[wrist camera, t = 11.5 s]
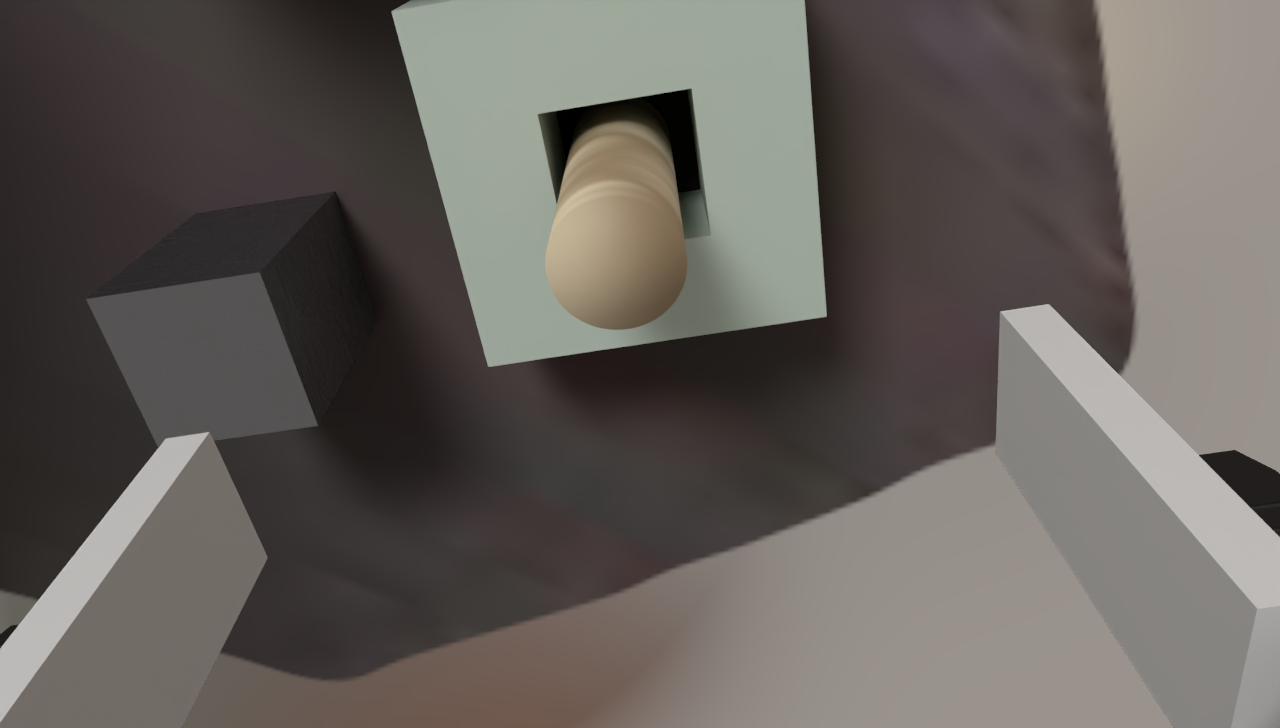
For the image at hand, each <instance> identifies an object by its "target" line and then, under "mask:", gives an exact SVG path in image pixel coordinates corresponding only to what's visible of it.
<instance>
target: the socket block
mask: <svg viewBox="0 0 1280 728" xmlns="http://www.w3.org/2000/svg"><path fill="white" fill-rule="evenodd" d="M391 12H392V16H393V20H394V23H395V27H396V31H397V34H398V38H399V42H400V45H401V49H402V53H403V56H404V60H405V64H406V67H407V71H408V75H409V78H410V82H411V86H412V89H413V93H414V97H415V100H416V104H417V108H418V111H419V115H420V119H421V122H422V126H423V130H424V133H425V137H426V141H427V144H428V148H429V152H430V155H431V159H432V163H433V166H434V170H435V174H436V177H437V181H438V185H439V188H440V192H441V196H442V199H443V203H444V207H445V210H446V214H447V218H448V221H449V225H450V229H451V232H452V236H453V240H454V243H455V247H456V251H457V254H458V258H459V262H460V265H461V269H462V272H463V276H464V280H465V283H466V287H467V291H468V294H469V298H470V302H471V305H472V309H473V313H474V316H475V320H476V324H477V327H478V331H479V335H480V338H481V342H482V346H483V349H484V353H485V357H486V360H487V364H488V367H491V366H498V365H504V364H511V363H518V362H525V361H531V360H538V359H545V358H552V357H558V356H565V355H572V354H579V353H585V352H592V351H599V350H606V349H612V348H619V347H626V346H633V345H639V344H646V343H653V342H660V341H666V340H673V339H680V338H686V337H693V336H700V335H707V334H713V333H720V332H727V331H734V330H740V329H747V328H754V327H761V326H767V325H774V324H781V323H788V322H794V321H801V320H808V319H815V318H821V317H827V311H826V297H825V283H824V269H823V255H822V240H821V226H820V212H819V198H818V184H817V169H816V155H815V141H814V127H813V113H812V98H811V84H810V70H809V56H808V42H807V27H806V13H805V0H410V1H409V2H407V3H405V4H403V5H402V6H400V7H398V8H396V9H395V10H393V11H391ZM685 89H687V92H688V100H689V107H690V115H691V122H692V130H693V137H694V145H695V152H696V160H697V167H698V175H699V182H700V190H694V191H687V192H681V193H678V197H679V204H680V211H681V218H682V225H683V232H684V239H685V246H686V253H687V274H686V280H685V283H684V286H683V288H682V290H681V292H680V294H679V296H678V298H677V299H676V301H675V302H674V303H673V305H672V306H671V307H670V308H669V309H668V310H667V311H666V312H665V313H664V314H662V315H661V316H660V317H658V318H657V319H655V320H653V321H651V322H649V323H647V324H645V325H642V326H639V327H636V328H631V329H624V330H609V329H602V328H598V327H594V326H592V325H589V324H586V323H584V322H582V321H580V320H579V319H577V318H576V317H574V316H573V315H571V314H570V313H569V312H568V311H567V310H565V309H564V308H563V306H562V305H561V304H560V303H559V302H558V300H557V299H556V297H555V296H554V294H553V292H552V290H551V288H550V286H549V283H548V280H547V276H546V270H545V257H546V250H547V246H548V241H549V237H550V233H551V228H552V224H553V220H554V215H555V211H556V207H557V202H558V198H559V194H560V189H561V185H562V181H563V176H564V172H565V168H566V158H565V153H564V148H563V143H562V138H561V133H560V129H559V124H558V119H557V114H556V111H559V110H565V109H571V108H577V107H583V106H589V105H595V104H601V103H607V102H613V101H619V100H625V99H631V98H637V97H643V96H649V95H655V94H661V93H667V92H673V91H679V90H685Z"/></svg>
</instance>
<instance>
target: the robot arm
mask: <svg viewBox="0 0 1280 728" xmlns="http://www.w3.org/2000/svg"><path fill="white" fill-rule="evenodd" d="M996 455H997V456H998V458H999V459H1000V461H1001V462H1002V464H1003V465H1004V467H1005V468H1006V470H1007V471H1008V473H1009V474H1010V476H1011V478H1012V479H1013V481H1014V482H1015V484H1016V485H1017V487H1018V489H1019V490H1020V492H1021V493H1022V495H1023V496H1024V498H1025V499H1026V501H1027V502H1028V504H1029V506H1030V507H1031V508H1032V510H1033V512H1034V513H1035V515H1036V516H1037V518H1038V519H1039V521H1040V522H1041V524H1042V525H1043V527H1044V528H1045V530H1046V532H1047V533H1048V535H1049V536H1050V538H1051V539H1052V541H1053V543H1054V544H1055V546H1056V547H1057V549H1058V550H1059V552H1060V553H1061V555H1062V556H1063V558H1064V559H1065V561H1066V563H1067V564H1068V566H1069V567H1070V569H1071V570H1072V572H1073V573H1074V575H1075V576H1076V578H1077V580H1078V581H1079V583H1080V584H1081V586H1082V587H1083V589H1084V590H1085V592H1086V593H1087V595H1088V596H1089V598H1090V599H1091V601H1092V603H1093V604H1094V606H1095V607H1096V609H1097V610H1098V612H1099V613H1100V615H1101V617H1102V618H1103V620H1104V621H1105V623H1106V624H1107V626H1108V627H1109V629H1110V630H1111V632H1112V634H1113V635H1114V637H1115V638H1116V640H1117V641H1118V643H1119V644H1120V646H1121V647H1122V649H1123V651H1124V652H1125V654H1126V655H1127V657H1128V658H1129V660H1130V661H1131V662H1132V664H1133V666H1134V667H1135V669H1136V671H1137V672H1138V674H1139V675H1140V677H1141V678H1142V680H1143V681H1144V683H1145V685H1146V686H1147V688H1148V689H1149V691H1150V692H1151V694H1152V695H1153V697H1154V698H1155V700H1156V701H1157V703H1158V705H1159V706H1160V707H1161V709H1162V711H1163V712H1164V714H1165V715H1166V717H1167V718H1168V720H1169V722H1170V723H1171V725H1172V726H1173V728H1280V474H1279V473H1278V472H1277V471H1275V470H1273V469H1272V468H1270V467H1267V466H1266V465H1263V464H1261V463H1259V462H1258V461H1256V460H1254V459H1251V458H1250V457H1247V456H1246V455H1244V454H1242V453H1240V452H1238V451H1235V450H1232V451H1226V452H1218V453H1211V454H1204V455H1198V454H1197V453H1196V452H1195V451H1194V450H1193V449H1192V448H1191V447H1190V446H1189V445H1188V444H1187V443H1186V442H1185V441H1184V440H1183V439H1182V438H1181V437H1180V436H1179V435H1178V434H1177V433H1176V432H1175V431H1174V430H1173V429H1172V428H1171V427H1170V426H1169V425H1168V424H1167V423H1166V422H1165V421H1164V420H1163V419H1162V418H1161V417H1160V416H1159V415H1158V414H1157V413H1156V412H1155V411H1154V410H1153V409H1152V408H1151V407H1150V406H1149V405H1148V404H1147V403H1146V402H1145V401H1144V400H1143V399H1142V398H1141V397H1140V396H1139V395H1138V394H1137V393H1136V392H1135V391H1134V390H1133V389H1132V388H1131V387H1130V386H1129V385H1128V384H1127V383H1126V382H1125V381H1124V380H1123V379H1122V378H1121V377H1120V376H1119V375H1118V374H1117V373H1116V372H1115V371H1114V369H1113V368H1112V367H1111V366H1110V365H1109V364H1108V363H1107V362H1106V361H1105V360H1104V359H1103V358H1102V357H1101V356H1100V355H1099V354H1098V353H1097V352H1096V351H1095V350H1094V349H1093V348H1092V347H1091V346H1090V345H1089V344H1088V343H1087V342H1086V341H1085V340H1084V339H1083V338H1082V337H1081V336H1080V335H1079V334H1078V333H1077V332H1076V331H1075V330H1074V329H1073V328H1072V327H1071V326H1070V325H1069V324H1068V323H1067V322H1066V321H1065V320H1064V319H1063V318H1062V317H1061V316H1060V315H1059V314H1058V313H1057V312H1056V311H1055V310H1054V309H1053V308H1052V307H1051V306H1050V305H1049V304H1047V305H1040V306H1034V307H1027V308H1021V309H1014V310H1008V311H1001V312H1000V333H999V364H998V394H997V425H996ZM267 558H268V557H267V555H266V553H265V551H264V548H263V546H262V544H261V542H260V540H259V538H258V535H257V533H256V531H255V529H254V527H253V525H252V522H251V520H250V518H249V516H248V514H247V512H246V509H245V507H244V505H243V503H242V501H241V499H240V496H239V494H238V492H237V490H236V488H235V486H234V484H233V481H232V479H231V477H230V475H229V473H228V471H227V468H226V466H225V464H224V462H223V460H222V458H221V455H220V453H219V451H218V449H217V447H216V445H215V442H214V440H213V438H212V436H211V434H210V432H206V433H199V434H193V435H186V436H179V437H173V438H166V439H165V440H164V442H163V443H162V444H161V445H160V447H159V448H158V449H157V450H156V452H155V453H154V454H153V456H152V457H151V458H150V459H149V461H148V462H147V463H146V464H145V466H144V467H143V468H142V469H141V471H140V472H139V473H138V475H137V476H136V477H135V478H134V480H133V481H132V482H131V483H130V485H129V486H128V487H127V488H126V490H125V491H124V492H123V494H122V495H121V496H120V497H119V499H118V500H117V501H116V502H115V504H114V505H113V506H112V507H111V509H110V510H109V511H108V513H107V514H106V515H105V516H104V518H103V519H102V520H101V521H100V523H99V524H98V525H97V526H96V528H95V529H94V530H93V532H92V533H91V534H90V535H89V537H88V538H87V539H86V540H85V542H84V543H83V544H82V545H81V547H80V548H79V549H78V551H77V552H76V553H75V554H74V556H73V557H72V558H71V559H70V561H69V562H68V563H67V565H66V566H65V567H64V568H63V570H62V571H61V572H60V573H59V575H58V576H57V577H56V578H55V580H54V581H53V582H52V584H51V585H50V586H49V587H48V589H47V590H46V591H45V592H44V594H43V595H42V596H41V597H40V599H39V600H38V601H37V603H36V604H35V605H34V606H33V608H32V609H31V610H30V612H29V613H28V614H27V615H26V616H25V618H24V619H23V620H22V622H21V623H20V624H19V625H13V626H10V627H9V628H8V629H6V630H5V631H4V632H3V633H2V634H0V728H182V726H183V724H184V722H185V720H186V718H187V716H188V714H189V712H190V711H191V708H192V707H193V705H194V703H195V701H196V698H197V697H198V694H199V693H200V691H201V689H202V687H203V685H204V683H205V681H206V679H207V677H208V675H209V673H210V671H211V669H212V667H213V665H214V663H215V661H216V659H217V657H218V655H219V653H220V651H221V649H222V647H223V645H224V643H225V641H226V639H227V637H228V635H229V633H230V631H231V629H232V627H233V625H234V623H235V621H236V620H237V618H238V616H239V614H240V612H241V610H242V608H243V606H244V604H245V602H246V600H247V598H248V596H249V594H250V592H251V590H252V588H253V586H254V584H255V582H256V580H257V578H258V576H259V574H260V572H261V570H262V568H263V566H264V564H265V562H266V560H267Z"/></svg>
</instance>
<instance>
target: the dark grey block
mask: <svg viewBox="0 0 1280 728" xmlns="http://www.w3.org/2000/svg"><path fill="white" fill-rule="evenodd" d="M86 300H87V302H88V304H89V306H90V308H91V310H92V312H93V314H94V317H95V319H96V321H97V323H98V325H99V327H100V329H101V331H102V333H103V335H104V337H105V339H106V341H107V343H108V345H109V347H110V349H111V352H112V354H113V356H114V358H115V360H116V362H117V364H118V366H119V368H120V370H121V372H122V374H123V376H124V378H125V380H126V382H127V384H128V387H129V389H130V391H131V393H132V395H133V397H134V399H135V401H136V403H137V405H138V407H139V409H140V411H141V413H142V415H143V417H144V419H145V421H146V424H147V426H148V428H149V430H150V432H151V434H152V436H153V438H154V440H155V442H156V444H157V446H158V448H159V447H160V445H161V444H162V443H163V442H164V440H165V439H166V438H173V437H179V436H186V435H193V434H199V433H206V432H210V434H211V436H212V438H213V440H214V441H215V440H222V439H229V438H236V437H243V436H250V435H257V434H264V433H271V432H278V431H285V430H292V429H299V428H306V427H313V426H318V425H319V424H320V422H321V420H322V418H323V416H324V415H325V413H326V411H327V409H328V408H329V406H330V404H331V402H332V401H333V399H334V397H335V395H336V394H337V392H338V390H339V388H340V386H341V385H342V383H343V381H344V379H345V378H346V376H347V374H348V372H349V371H350V369H351V367H352V365H353V364H354V362H355V360H356V358H357V356H358V355H359V353H360V351H361V349H362V348H363V346H364V344H365V342H366V341H367V339H368V337H369V335H370V334H371V332H372V330H373V328H374V326H375V325H376V323H377V319H376V316H375V313H374V309H373V306H372V303H371V300H370V297H369V294H368V291H367V288H366V285H365V282H364V279H363V276H362V273H361V269H360V266H359V263H358V260H357V257H356V254H355V251H354V248H353V245H352V242H351V239H350V236H349V233H348V230H347V226H346V223H345V220H344V217H343V214H342V211H341V208H340V205H339V202H338V199H337V196H336V193H335V192H329V193H323V194H317V195H310V196H304V197H298V198H292V199H285V200H279V201H273V202H266V203H260V204H254V205H248V206H241V207H235V208H229V209H222V210H216V211H210V212H204V213H197V214H195V215H194V216H192V217H191V218H190V219H188V220H187V221H186V222H185V223H183V224H182V225H181V226H179V227H178V228H177V229H176V230H174V231H173V232H172V233H170V234H169V235H168V236H167V237H165V238H164V239H163V240H161V241H160V242H159V243H158V244H156V245H155V246H154V247H152V248H151V249H150V250H149V251H147V252H146V253H145V254H143V255H142V256H141V257H140V258H138V259H137V260H136V261H134V262H133V263H132V264H131V265H129V266H128V267H127V268H125V269H124V270H123V271H122V272H120V273H119V274H118V275H116V276H115V277H114V278H113V279H111V280H110V281H109V282H107V283H106V284H105V285H104V286H102V287H101V288H100V289H98V290H97V291H96V292H95V293H93V294H92V295H91V296H89V297H88V298H87V299H86Z"/></svg>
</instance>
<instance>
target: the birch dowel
mask: <svg viewBox="0 0 1280 728" xmlns="http://www.w3.org/2000/svg"><path fill="white" fill-rule="evenodd" d="M545 270H546V276H547V280H548V283H549V286H550V288H551V290H552V292H553V294H554V296H555V297H556V299H557V300H558V302H559V303H560V304H561V305H562V306H563V308H564V309H565V310H567V311H568V312H569V313H570V314H571V315H573V316H574V317H576V318H577V319H579V320H580V321H582V322H584V323H586V324H589V325H592V326H594V327H598V328H602V329H609V330H624V329H631V328H636V327H639V326H642V325H645V324H647V323H649V322H651V321H653V320H655V319H657V318H658V317H660V316H661V315H662V314H664V313H665V312H666V311H667V310H668V309H669V308H670V307H671V306H672V305H673V303H674V302H675V301H676V299H677V298H678V296H679V294H680V292H681V290H682V288H683V286H684V283H685V280H686V274H687V253H686V246H685V239H684V232H683V225H682V218H681V211H680V204H679V197H678V190H677V183H676V176H675V169H674V162H673V155H672V148H671V141H670V134H669V130H668V127H667V124H666V122H665V120H664V118H663V116H662V115H661V114H660V112H659V111H658V110H657V109H656V108H655V107H654V106H653V105H652V104H651V103H649V102H648V101H646V100H644V99H642V98H640V97H637V98H631V99H625V100H619V101H613V102H607V103H601V104H595V105H589V106H588V107H587V108H586V109H585V110H584V112H583V113H582V114H581V116H580V117H579V119H578V121H577V123H576V126H575V129H574V133H573V137H572V142H571V146H570V150H569V155H568V159H567V163H566V168H565V172H564V176H563V181H562V185H561V189H560V194H559V198H558V202H557V207H556V211H555V215H554V220H553V224H552V228H551V233H550V237H549V241H548V246H547V250H546V257H545Z"/></svg>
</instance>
